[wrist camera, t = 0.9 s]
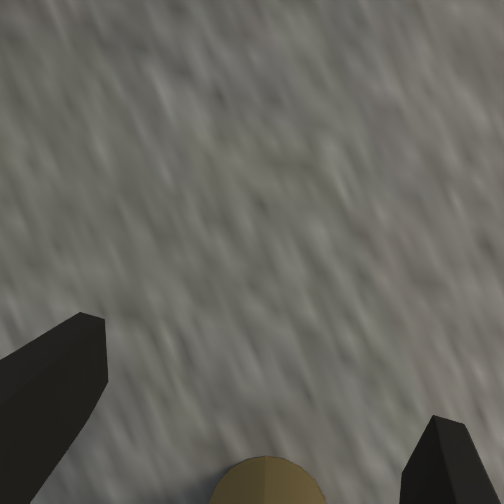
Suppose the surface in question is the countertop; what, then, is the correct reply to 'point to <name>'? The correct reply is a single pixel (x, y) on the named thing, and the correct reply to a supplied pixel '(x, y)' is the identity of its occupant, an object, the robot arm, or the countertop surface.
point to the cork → (267, 484)
